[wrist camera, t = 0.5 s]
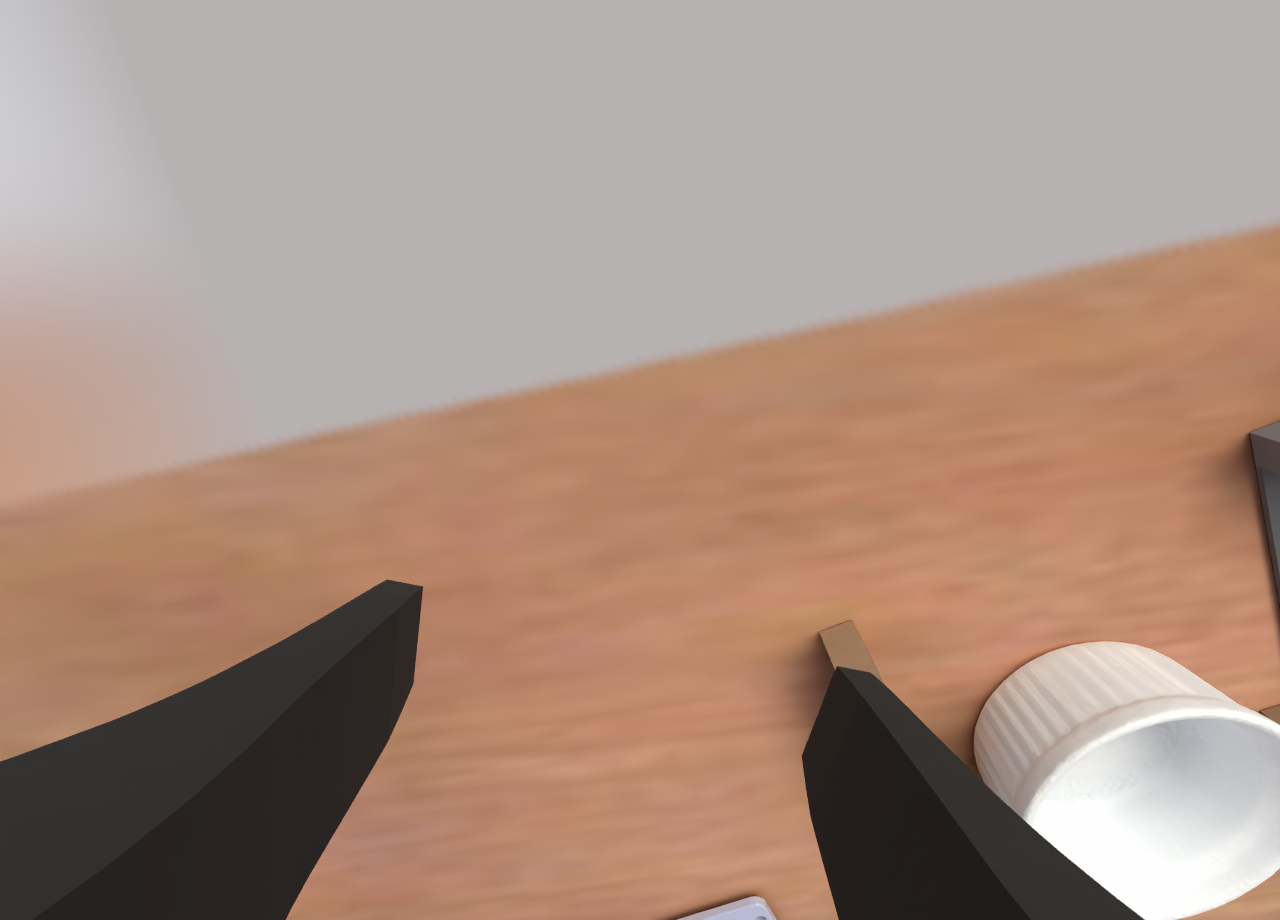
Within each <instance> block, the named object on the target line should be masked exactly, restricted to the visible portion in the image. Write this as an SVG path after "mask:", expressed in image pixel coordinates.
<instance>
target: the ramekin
mask: <svg viewBox="0 0 1280 920" xmlns="http://www.w3.org/2000/svg"><path fill="white" fill-rule="evenodd" d="M974 755H975V758H976V763H977V767H978V770H979V772H980V774H981V777H982V779H983V781H984V783H985V784H986V785H987V786H988V787H989V788H990V789H991V790H992V791H993V792H994V793H995V794H996V795H997V796H998V797H999V798H1001V799H1002V800H1003V801H1004V802H1005V803H1006V804H1007V805H1008V806H1009V807H1010V808H1012V809H1013V810H1014V811H1015V812H1016V813H1017V814H1018V815H1019V816H1020V817H1021V818H1023V819H1024V820H1025V821H1026V822H1027V823H1028V824H1029V825H1030V826H1031V827H1032V828H1034V829H1035V830H1036V831H1037V832H1038V833H1039V834H1040V835H1041V836H1043V837H1044V838H1045V839H1046V840H1047V841H1048V842H1050V843H1051V844H1052V845H1053V846H1054V847H1055V848H1057V849H1058V850H1059V851H1060V852H1061V853H1062V854H1064V855H1065V856H1066V857H1067V858H1068V859H1070V860H1071V861H1072V862H1073V863H1075V864H1076V865H1077V866H1078V867H1079V868H1081V869H1082V870H1083V871H1084V872H1086V873H1087V874H1088V875H1089V876H1090V877H1092V878H1093V879H1094V880H1095V881H1097V882H1098V883H1099V884H1100V885H1101V886H1103V887H1104V888H1105V889H1106V890H1108V891H1109V892H1110V893H1111V894H1113V895H1114V896H1115V897H1116V898H1118V899H1119V900H1120V901H1121V902H1123V903H1124V904H1125V905H1127V906H1128V907H1129V908H1131V909H1132V910H1133V911H1134V912H1136V913H1137V914H1138V915H1140V916H1141V917H1142V918H1144V919H1145V920H1177V919H1181V918H1186V917H1190V916H1193V915H1196V914H1199V913H1202V912H1205V911H1208V910H1211V909H1214V908H1217V907H1218V906H1221V905H1224V904H1225V903H1228V902H1229V901H1232V900H1234V899H1236V898H1237V897H1239V896H1241V895H1243V894H1244V893H1246V892H1248V891H1250V890H1251V889H1253V888H1255V887H1256V886H1258V885H1259V884H1261V883H1262V882H1264V881H1265V880H1266V879H1267V878H1270V876H1272V875H1273V874H1274V873H1275V872H1276V871H1277V870H1279V868H1280V725H1279V724H1277V723H1276V722H1274V721H1272V720H1271V719H1269V718H1267V717H1265V716H1263V715H1261V714H1259V713H1257V712H1255V711H1253V710H1251V709H1248V708H1246V707H1243V706H1240V705H1239V704H1237V703H1236V702H1234V701H1233V700H1231V699H1230V698H1228V697H1227V696H1226V695H1224V694H1223V693H1221V692H1220V691H1218V690H1217V689H1215V688H1214V687H1212V686H1211V685H1209V684H1208V683H1206V682H1205V681H1203V680H1202V679H1201V678H1199V677H1198V676H1196V675H1195V674H1193V673H1192V672H1190V671H1189V670H1187V669H1186V668H1184V667H1183V666H1181V665H1180V664H1178V663H1177V662H1175V661H1174V660H1172V659H1170V658H1169V657H1167V656H1165V655H1163V654H1160V653H1158V652H1156V651H1154V650H1152V649H1149V648H1146V647H1143V646H1139V645H1136V644H1129V643H1123V642H1109V641H1100V642H1088V643H1082V644H1076V645H1070V646H1067V647H1063V648H1060V649H1057V650H1053V651H1051V652H1048V653H1046V654H1044V655H1042V656H1039V657H1037V658H1035V659H1034V660H1032V661H1030V662H1028V663H1027V664H1025V665H1023V666H1022V667H1020V668H1019V669H1017V670H1016V671H1015V672H1014V673H1012V674H1011V675H1010V676H1009V677H1008V678H1007V679H1005V680H1004V681H1003V682H1002V683H1001V684H1000V685H999V686H998V688H997V689H996V690H995V691H994V692H993V694H992V695H991V696H990V697H989V699H988V700H987V702H986V703H985V705H984V707H983V709H982V711H981V713H980V716H979V719H978V721H977V724H976V727H975V734H974Z"/></svg>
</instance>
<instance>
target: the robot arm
mask: <svg viewBox="0 0 1280 920" xmlns="http://www.w3.org/2000/svg"><path fill="white" fill-rule="evenodd" d="M422 591H423V586H417V585H412V584H407V583H402V582H396V581H391V580H386V581H384V582H382V583H380V584H378V585H377V586H375V587H373V588H371V589H370V590H368V591H366V592H365V593H363V594H361V595H360V596H358V597H356V598H355V599H353V600H351V601H350V602H348V603H346V604H345V605H343V606H341V607H340V608H338V609H336V610H335V611H333V612H331V613H329V614H328V615H326V616H324V617H323V618H321V619H319V620H318V621H316V622H314V623H312V624H311V625H309V626H307V627H305V628H304V629H302V630H300V631H298V632H297V633H295V634H293V635H291V636H290V637H288V638H286V639H284V640H283V641H281V642H279V643H277V644H275V645H273V646H271V647H269V648H267V649H265V650H263V651H262V652H260V653H258V654H256V655H254V656H252V657H250V658H248V659H246V660H244V661H242V662H240V663H238V664H236V665H235V666H233V667H231V668H229V669H227V670H225V671H223V672H221V673H219V674H217V675H215V676H213V677H211V678H209V679H207V680H205V681H203V682H201V683H198V684H196V685H194V686H192V687H190V688H188V689H185V690H183V691H181V692H179V693H177V694H174V695H172V696H170V697H167V698H165V699H163V700H160V701H158V702H156V703H153V704H151V705H149V706H146V707H144V708H142V709H139V710H137V711H135V712H132V713H130V714H128V715H125V716H123V717H120V718H118V719H115V720H113V721H110V722H108V723H105V724H102V725H99V726H97V727H94V728H91V729H89V730H86V731H83V732H81V733H78V734H75V735H72V736H70V737H67V738H64V739H62V740H59V741H56V742H53V743H51V744H48V745H45V746H43V747H40V748H37V749H35V750H32V751H29V752H26V753H24V754H21V755H18V756H15V757H13V758H10V759H7V760H4V761H1V762H0V920H286V918H287V916H288V914H289V912H290V910H291V908H292V906H293V904H294V902H295V901H296V899H297V897H298V895H299V893H300V891H301V890H302V888H303V886H304V884H305V882H306V880H307V879H308V877H309V875H310V873H311V872H312V870H313V868H314V867H315V865H316V863H317V861H318V860H319V858H320V856H321V855H322V853H323V851H324V850H325V848H326V846H327V845H328V843H329V841H330V839H331V838H332V836H333V834H334V833H335V831H336V829H337V828H338V826H339V824H340V823H341V821H342V819H343V817H344V816H345V814H346V812H347V811H348V809H349V807H350V806H351V804H352V802H353V801H354V799H355V797H356V795H357V794H358V792H359V790H360V789H361V787H362V785H363V784H364V782H365V780H366V778H367V777H368V775H369V773H370V772H371V770H372V768H373V766H374V765H375V763H376V761H377V760H378V758H379V756H380V754H381V753H382V751H383V749H384V747H385V746H386V744H387V742H388V740H389V738H390V736H391V734H392V732H393V729H394V727H395V725H396V723H397V721H398V718H399V716H400V714H401V712H402V709H403V707H404V705H405V702H406V700H407V698H408V695H409V693H410V691H411V688H412V686H413V682H414V671H415V661H416V651H417V641H418V631H419V621H420V611H421V601H422ZM802 761H803V768H804V776H805V783H806V790H807V797H808V803H809V809H810V815H811V819H812V823H813V827H814V831H815V835H816V838H817V842H818V846H819V850H820V853H821V857H822V861H823V864H824V868H825V872H826V875H827V879H828V882H829V886H830V889H831V893H832V897H833V900H834V904H835V907H836V911H837V914H838V918H839V920H1145V919H1144V918H1142V917H1141V916H1140V915H1138V914H1137V913H1136V912H1134V911H1133V910H1132V909H1131V908H1129V907H1128V906H1127V905H1125V904H1124V903H1123V902H1121V901H1120V900H1119V899H1118V898H1116V897H1115V896H1114V895H1113V894H1111V893H1110V892H1109V891H1108V890H1106V889H1105V888H1104V887H1103V886H1101V885H1100V884H1099V883H1098V882H1097V881H1095V880H1094V879H1093V878H1092V877H1090V876H1089V875H1088V874H1087V873H1086V872H1084V871H1083V870H1082V869H1081V868H1079V867H1078V866H1077V865H1076V864H1075V863H1073V862H1072V861H1071V860H1070V859H1068V858H1067V857H1066V856H1065V855H1064V854H1062V853H1061V852H1060V851H1059V850H1058V849H1057V848H1055V847H1054V846H1053V845H1052V844H1051V843H1050V842H1048V841H1047V840H1046V839H1045V838H1044V837H1043V836H1041V835H1040V834H1039V833H1038V832H1037V831H1036V830H1035V829H1034V828H1032V827H1031V826H1030V825H1029V824H1028V823H1027V822H1026V821H1025V820H1024V819H1023V818H1021V817H1020V816H1019V815H1018V814H1017V813H1016V812H1015V811H1014V810H1013V809H1012V808H1010V807H1009V806H1008V805H1007V804H1006V803H1005V802H1004V801H1003V800H1002V799H1001V798H999V797H998V796H997V795H996V794H995V793H994V792H993V791H992V790H991V789H990V788H989V787H988V786H987V785H986V784H985V783H984V782H983V781H981V780H980V779H979V778H978V777H977V776H976V775H975V774H974V773H973V772H972V771H971V770H970V769H969V768H968V767H967V766H966V765H965V764H964V763H963V762H962V761H961V760H960V759H959V758H958V757H957V756H956V755H955V754H954V753H953V752H952V751H951V750H950V749H949V748H948V747H947V746H946V745H945V744H944V743H943V742H942V741H941V740H940V739H939V738H938V737H937V736H936V735H935V734H934V733H933V732H932V731H931V730H930V729H929V728H928V727H927V726H926V725H925V724H924V723H923V722H922V721H921V720H920V719H919V718H918V717H917V716H916V715H915V714H914V713H913V712H912V711H911V710H910V709H909V708H908V707H907V706H906V705H905V704H904V703H903V702H902V701H901V700H900V699H899V698H898V697H897V696H896V695H895V694H894V693H893V692H892V691H891V690H890V689H888V688H887V687H886V686H885V685H884V684H883V683H882V682H881V681H880V680H879V679H878V678H876V677H875V676H874V675H873V674H872V673H871V672H866V671H860V670H855V669H850V668H845V667H840V666H837V667H836V669H835V672H834V674H833V677H832V679H831V682H830V685H829V687H828V690H827V692H826V695H825V697H824V700H823V703H822V705H821V708H820V710H819V713H818V716H817V718H816V721H815V723H814V726H813V728H812V731H811V734H810V736H809V739H808V741H807V744H806V747H805V749H804V752H803V754H802ZM677 920H777V919H776V917H775V916H774V914H773V912H772V911H771V909H770V908H769V906H768V904H767V903H766V901H765V900H764V899H763V898H761V897H758V896H752V897H748V898H745V899H741V900H738V901H735V902H732V903H729V904H725V905H722V906H719V907H716V908H712V909H709V910H706V911H703V912H699V913H696V914H693V915H690V916H687V917H683V918H680V919H677Z"/></svg>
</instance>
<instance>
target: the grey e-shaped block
mask: <svg viewBox="0 0 1280 920" xmlns="http://www.w3.org/2000/svg"><path fill="white" fill-rule="evenodd" d="M1250 437H1251V443H1252V448H1253V454H1254V460H1255V466H1256V471H1257V477H1258V483H1259V489H1260V494H1261V500H1262V506H1263V512H1264V517H1265V523H1266V529H1267V535H1268V541H1269V546H1270V552H1271V558H1272V564H1273V569H1274V575H1275V581H1276V587H1277V592H1278V598H1279V604H1280V421H1278V422H1276V423H1273V424H1271V425H1268V426H1265V427H1263V428H1260V429H1258V430H1255V431H1253V432H1250Z"/></svg>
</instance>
